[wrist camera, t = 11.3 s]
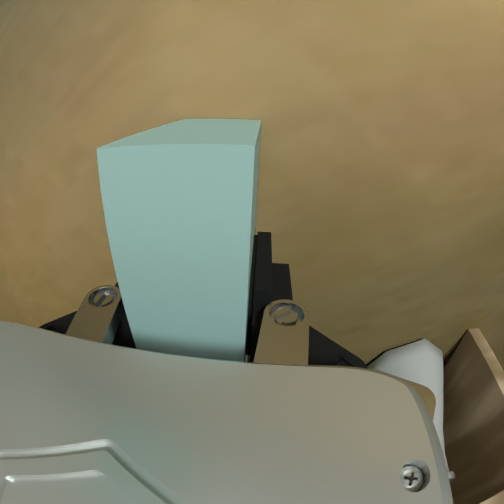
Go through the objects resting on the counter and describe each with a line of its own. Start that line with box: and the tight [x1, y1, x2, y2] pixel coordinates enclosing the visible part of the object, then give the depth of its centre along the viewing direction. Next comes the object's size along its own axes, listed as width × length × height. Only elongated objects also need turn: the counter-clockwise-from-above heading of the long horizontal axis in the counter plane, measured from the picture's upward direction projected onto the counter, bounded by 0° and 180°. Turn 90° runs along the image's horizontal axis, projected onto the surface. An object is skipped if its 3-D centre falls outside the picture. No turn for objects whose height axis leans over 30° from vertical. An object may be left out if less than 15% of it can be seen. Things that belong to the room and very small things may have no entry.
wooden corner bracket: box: [443, 328, 504, 504], centre depth 14 cm, size 11×15×14 cm
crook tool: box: [97, 119, 261, 362], centre depth 13 cm, size 10×22×7 cm, turn 177°
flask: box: [367, 339, 455, 482], centre depth 14 cm, size 7×7×10 cm
